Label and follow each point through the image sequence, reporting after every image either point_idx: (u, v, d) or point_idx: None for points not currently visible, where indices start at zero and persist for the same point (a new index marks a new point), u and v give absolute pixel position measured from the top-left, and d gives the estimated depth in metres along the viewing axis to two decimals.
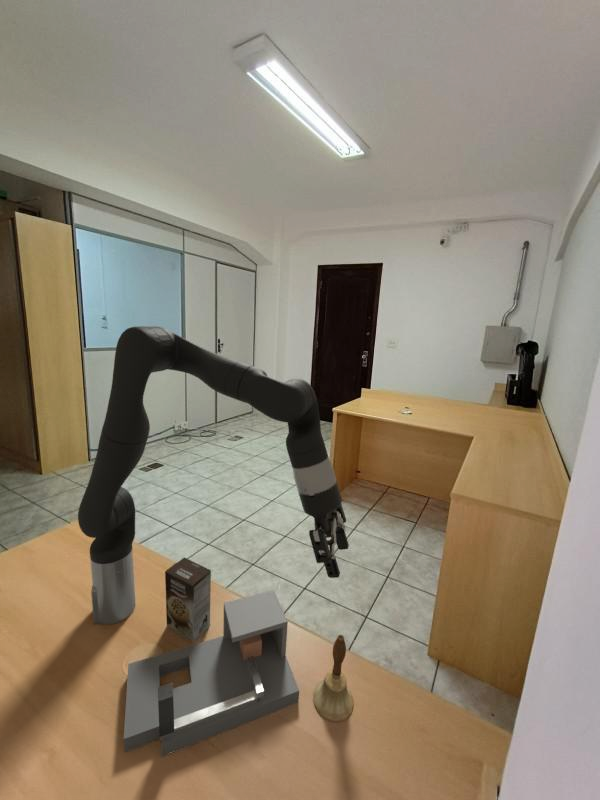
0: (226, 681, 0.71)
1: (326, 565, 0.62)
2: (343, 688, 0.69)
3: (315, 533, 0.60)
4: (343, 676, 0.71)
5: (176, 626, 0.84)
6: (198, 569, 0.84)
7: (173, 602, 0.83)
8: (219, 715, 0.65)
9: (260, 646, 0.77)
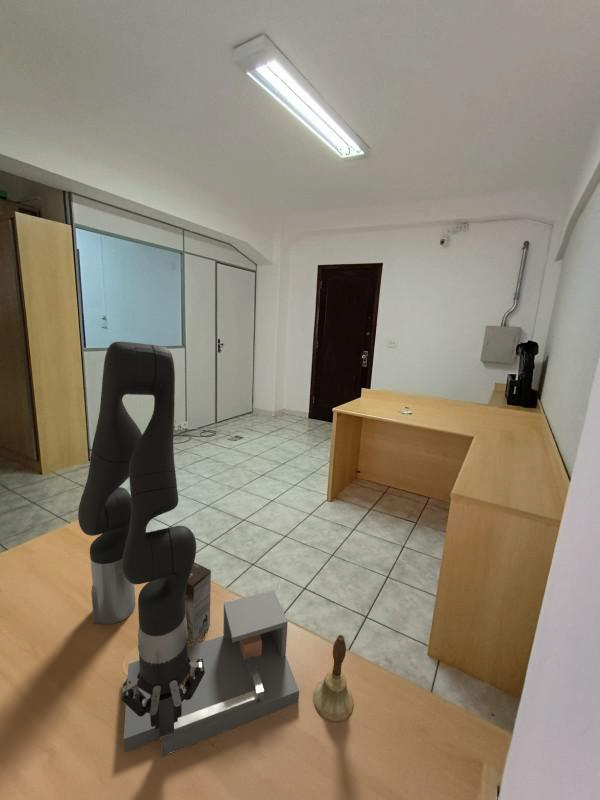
0: (226, 681, 0.71)
1: None
2: (343, 688, 0.69)
3: None
4: (343, 676, 0.71)
5: None
6: (198, 569, 0.84)
7: None
8: (219, 715, 0.65)
9: (260, 646, 0.77)
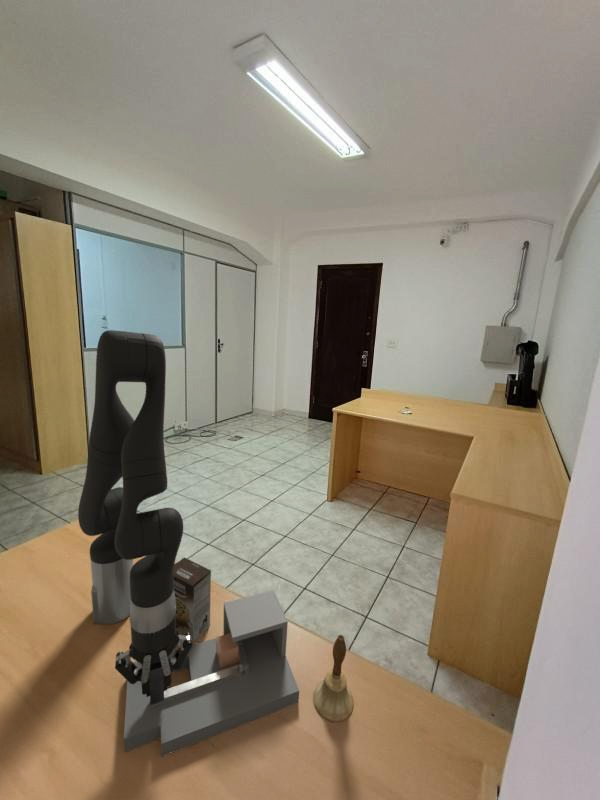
0: (226, 681, 0.71)
1: None
2: (343, 688, 0.69)
3: None
4: (343, 676, 0.71)
5: (176, 626, 0.84)
6: (198, 569, 0.84)
7: None
8: (206, 686, 0.70)
9: (237, 653, 0.75)
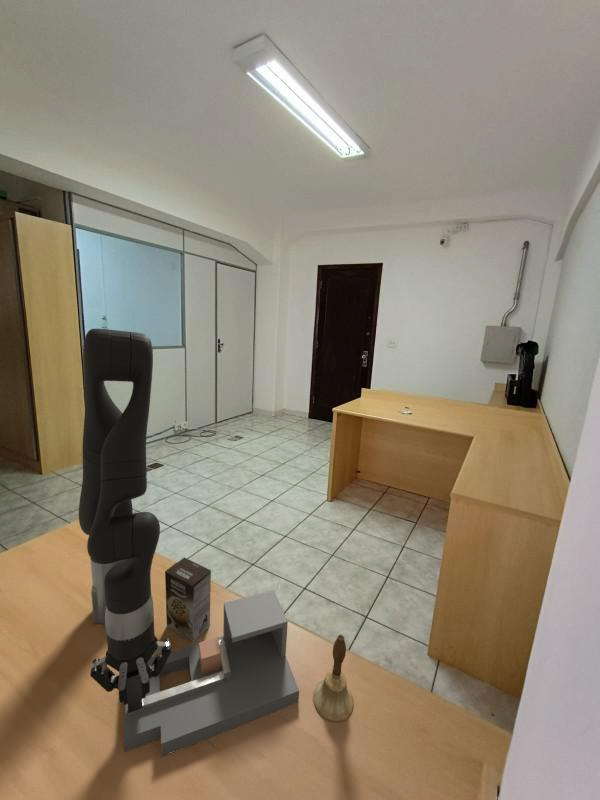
0: None
1: None
2: (343, 688, 0.69)
3: None
4: (343, 676, 0.71)
5: (176, 626, 0.84)
6: (198, 569, 0.84)
7: (173, 602, 0.83)
8: (187, 693, 0.68)
9: (219, 659, 0.74)
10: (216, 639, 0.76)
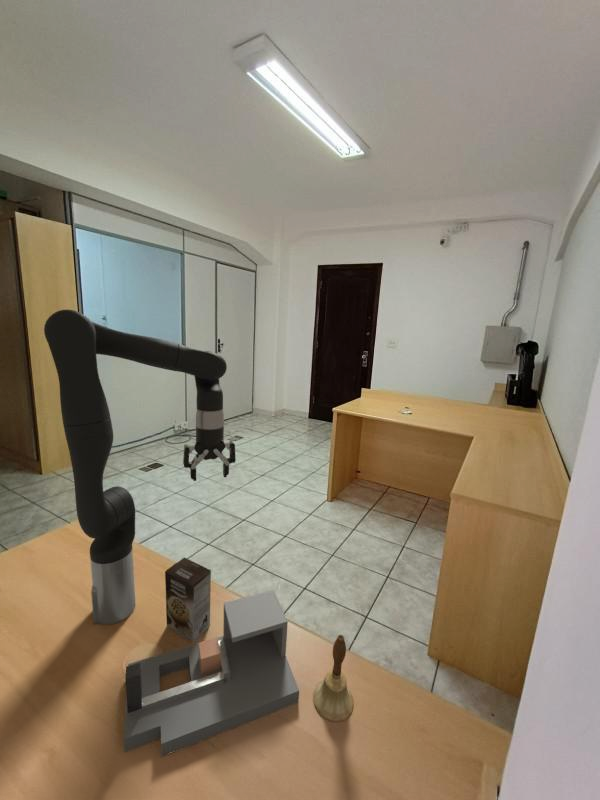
0: None
1: (190, 470, 0.98)
2: (343, 688, 0.69)
3: (184, 447, 0.96)
4: (343, 676, 0.71)
5: (176, 626, 0.84)
6: (198, 569, 0.84)
7: (173, 602, 0.83)
8: (186, 694, 0.68)
9: (219, 659, 0.73)
10: (216, 639, 0.76)
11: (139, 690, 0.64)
